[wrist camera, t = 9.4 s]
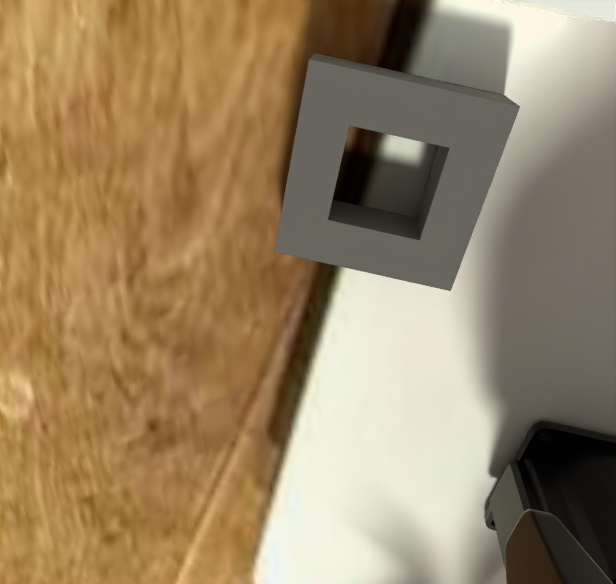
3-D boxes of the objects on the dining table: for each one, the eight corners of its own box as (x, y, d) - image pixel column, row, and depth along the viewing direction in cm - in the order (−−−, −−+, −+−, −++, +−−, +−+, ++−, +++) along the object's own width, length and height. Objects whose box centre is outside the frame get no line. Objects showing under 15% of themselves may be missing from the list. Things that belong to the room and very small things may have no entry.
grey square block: (504, 95, 17) (519, 106, 15) (443, 264, 20) (450, 291, 18) (315, 53, 17) (308, 59, 15) (282, 229, 20) (274, 251, 18)
